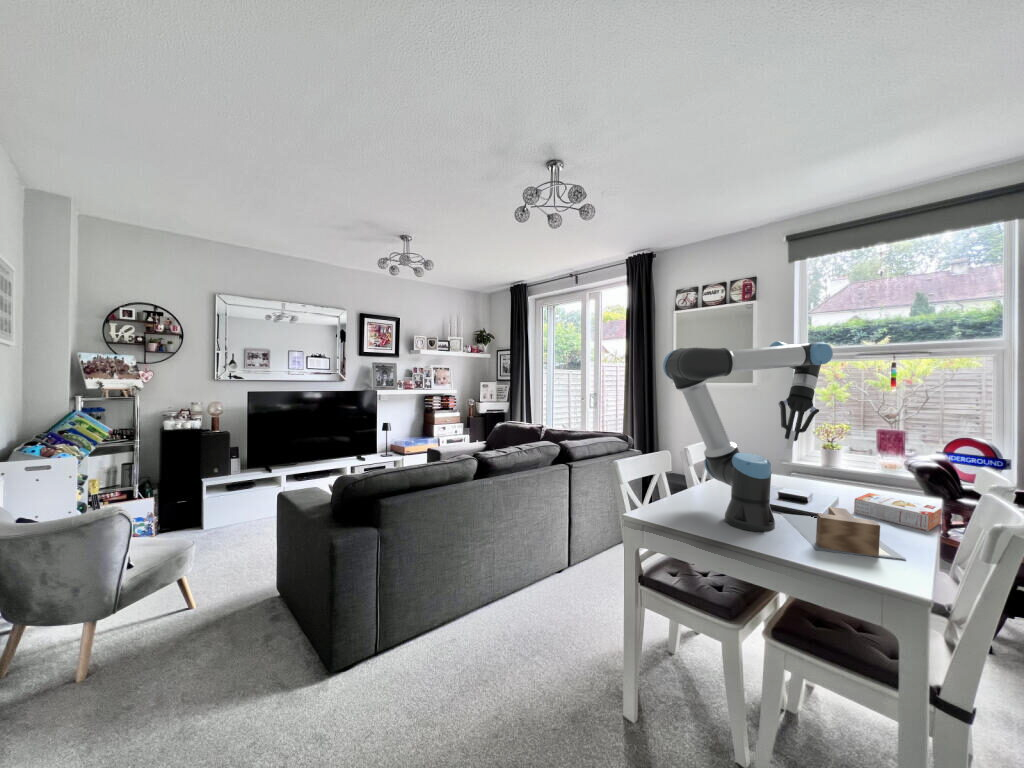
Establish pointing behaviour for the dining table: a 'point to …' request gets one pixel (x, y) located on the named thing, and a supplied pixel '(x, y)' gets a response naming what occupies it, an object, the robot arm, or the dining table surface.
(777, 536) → the dining table surface
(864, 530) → the t block
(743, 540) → the dining table surface
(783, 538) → the dining table surface
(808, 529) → the mat
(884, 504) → the cracker box
